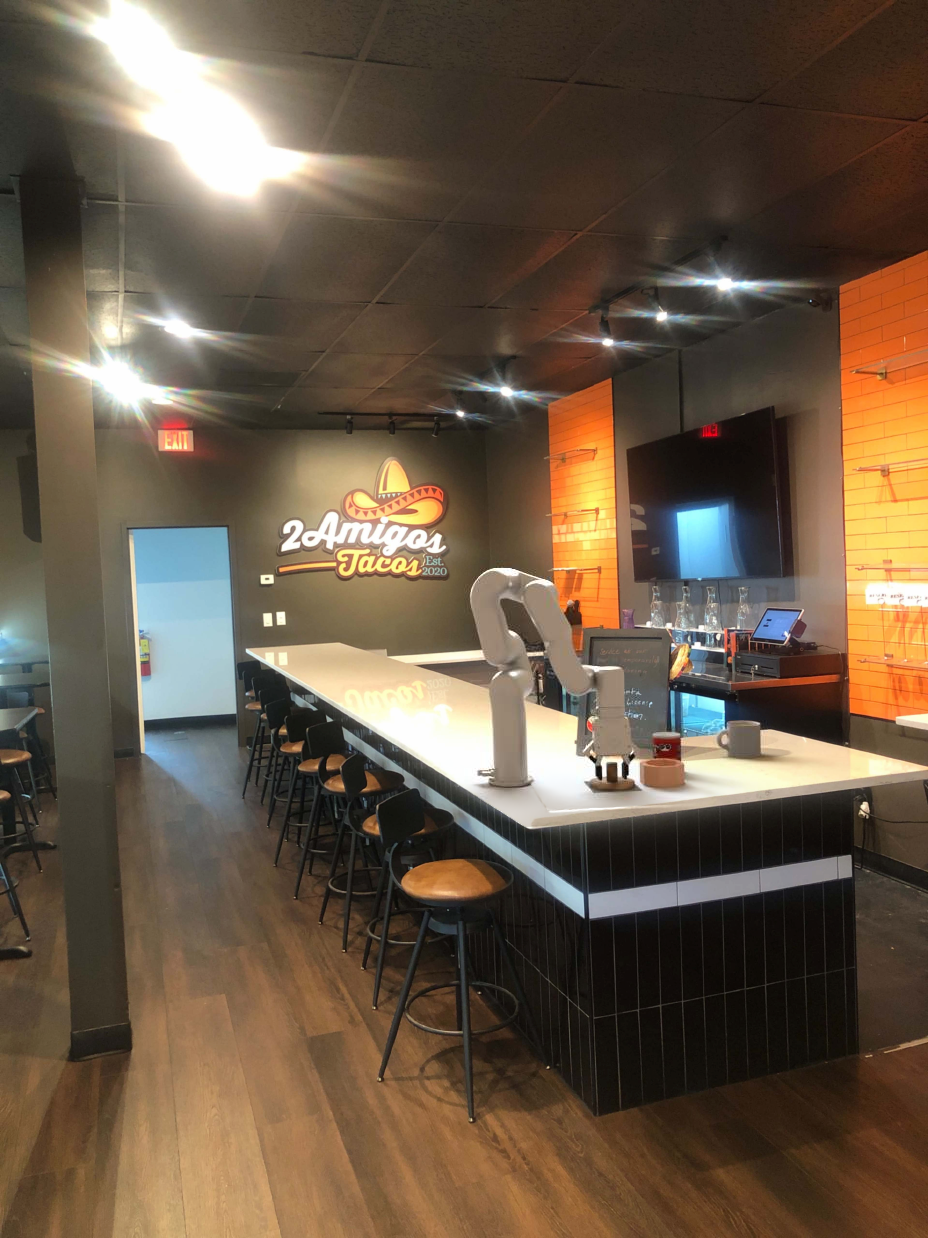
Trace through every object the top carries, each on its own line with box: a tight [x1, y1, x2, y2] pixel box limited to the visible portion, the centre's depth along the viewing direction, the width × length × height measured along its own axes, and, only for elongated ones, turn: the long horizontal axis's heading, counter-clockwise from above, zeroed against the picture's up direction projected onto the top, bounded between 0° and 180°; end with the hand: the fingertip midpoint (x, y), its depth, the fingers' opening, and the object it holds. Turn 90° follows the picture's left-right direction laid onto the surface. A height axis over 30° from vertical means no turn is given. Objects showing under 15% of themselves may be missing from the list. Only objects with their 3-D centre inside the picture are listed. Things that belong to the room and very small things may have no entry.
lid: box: [589, 761, 636, 792], centre depth 243 cm, size 12×12×6 cm
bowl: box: [639, 758, 686, 788], centre depth 245 cm, size 11×11×6 cm
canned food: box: [652, 731, 682, 762], centre depth 260 cm, size 8×8×11 cm
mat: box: [583, 780, 643, 794], centre depth 243 cm, size 13×13×1 cm
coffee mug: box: [716, 720, 762, 759], centre depth 280 cm, size 13×10×10 cm
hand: (612, 778), depth 243 cm, fingers open, 6 cm apart
